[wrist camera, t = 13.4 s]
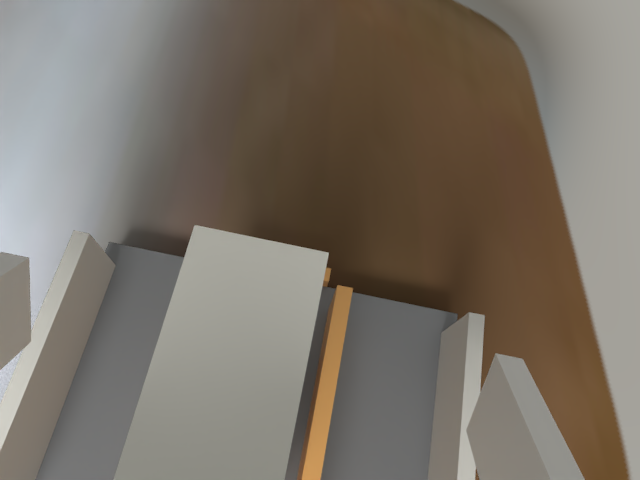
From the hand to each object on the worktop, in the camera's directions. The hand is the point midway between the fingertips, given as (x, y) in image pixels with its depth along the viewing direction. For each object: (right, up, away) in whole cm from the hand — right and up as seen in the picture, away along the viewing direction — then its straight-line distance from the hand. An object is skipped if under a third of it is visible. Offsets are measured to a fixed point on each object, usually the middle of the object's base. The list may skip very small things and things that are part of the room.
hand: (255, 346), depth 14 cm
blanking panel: (-1, -4, +6) cm, 8 cm away
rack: (-1, -5, +7) cm, 9 cm away
